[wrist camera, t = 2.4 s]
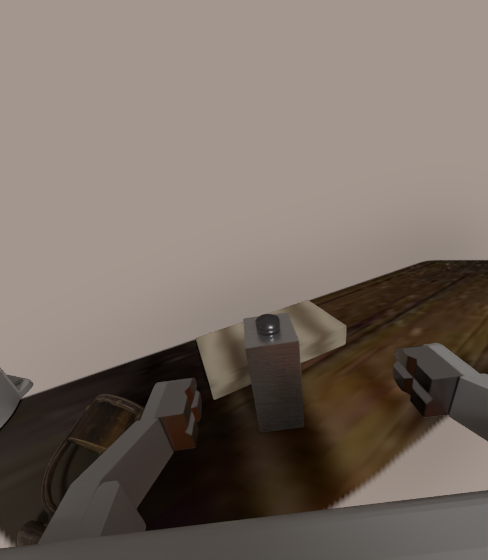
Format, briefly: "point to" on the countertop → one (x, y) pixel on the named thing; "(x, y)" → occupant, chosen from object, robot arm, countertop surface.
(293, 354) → the aluminium block
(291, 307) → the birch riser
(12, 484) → the countertop surface
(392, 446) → the countertop surface
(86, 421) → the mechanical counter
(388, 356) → the countertop surface
